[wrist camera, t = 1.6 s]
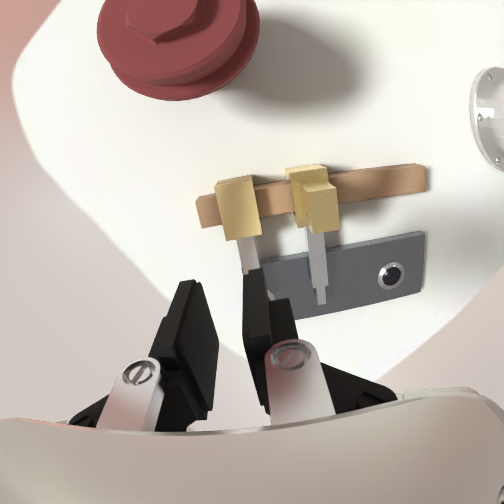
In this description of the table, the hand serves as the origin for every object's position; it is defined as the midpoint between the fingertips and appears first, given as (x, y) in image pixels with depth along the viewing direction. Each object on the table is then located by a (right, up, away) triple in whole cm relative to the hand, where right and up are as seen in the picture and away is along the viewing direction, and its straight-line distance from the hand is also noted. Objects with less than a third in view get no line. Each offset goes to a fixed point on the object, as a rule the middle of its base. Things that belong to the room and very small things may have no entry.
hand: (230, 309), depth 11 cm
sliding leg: (+6, +4, +17) cm, 18 cm away
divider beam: (+7, +4, +17) cm, 19 cm away
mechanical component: (-4, +19, +11) cm, 22 cm away
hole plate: (+10, 0, +19) cm, 21 cm away
